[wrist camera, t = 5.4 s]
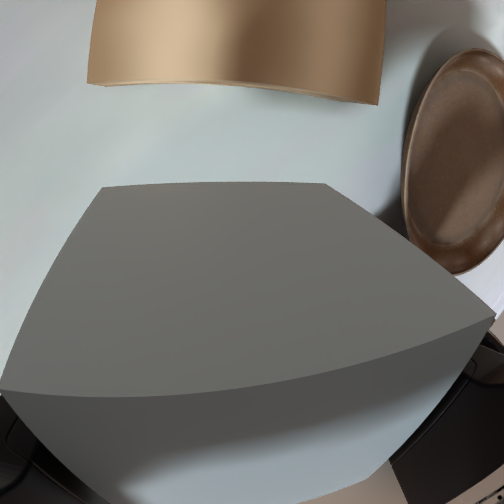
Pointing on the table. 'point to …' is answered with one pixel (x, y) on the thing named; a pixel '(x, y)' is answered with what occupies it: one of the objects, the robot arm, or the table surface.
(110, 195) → the grey cube
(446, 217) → the plant saucer
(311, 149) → the table surface
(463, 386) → the robot arm
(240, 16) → the pine board
